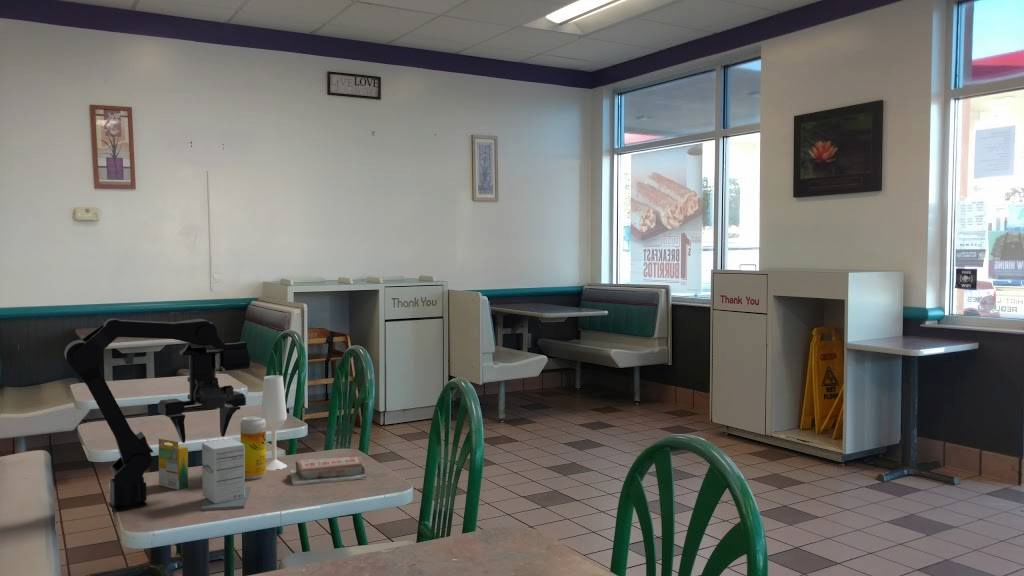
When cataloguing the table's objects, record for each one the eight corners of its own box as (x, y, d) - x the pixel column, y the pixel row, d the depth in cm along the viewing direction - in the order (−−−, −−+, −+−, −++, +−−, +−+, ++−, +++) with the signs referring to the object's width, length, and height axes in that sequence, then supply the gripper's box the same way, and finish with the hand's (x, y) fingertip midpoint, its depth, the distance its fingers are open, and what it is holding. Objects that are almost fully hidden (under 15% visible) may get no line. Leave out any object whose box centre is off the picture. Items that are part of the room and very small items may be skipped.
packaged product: (360, 452, 209) (366, 462, 199) (360, 470, 209) (366, 481, 199) (289, 457, 203) (292, 468, 193) (289, 476, 203) (292, 487, 193)
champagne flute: (285, 462, 214) (284, 374, 213) (289, 468, 208) (288, 378, 207) (259, 464, 211) (258, 375, 210) (262, 471, 205) (261, 379, 204)
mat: (201, 510, 174) (201, 508, 174) (210, 491, 188) (210, 489, 188) (244, 508, 176) (243, 505, 176) (250, 489, 190) (250, 487, 190)
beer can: (261, 480, 198) (261, 420, 197) (237, 479, 198) (236, 420, 197) (269, 473, 204) (269, 415, 203) (245, 473, 204) (245, 415, 203)
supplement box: (201, 496, 182) (200, 442, 182) (233, 490, 187) (232, 437, 186) (213, 504, 177) (213, 448, 176) (245, 497, 182) (245, 443, 181)
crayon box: (189, 487, 192) (188, 439, 191) (178, 490, 189) (177, 442, 188) (169, 482, 195) (168, 435, 195) (158, 485, 193) (157, 438, 192)
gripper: (174, 382, 172) (175, 452, 173) (255, 373, 185) (256, 439, 186) (156, 375, 181) (157, 443, 181) (235, 367, 193) (236, 431, 194)
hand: (203, 439), depth 185 cm, fingers open, 9 cm apart
